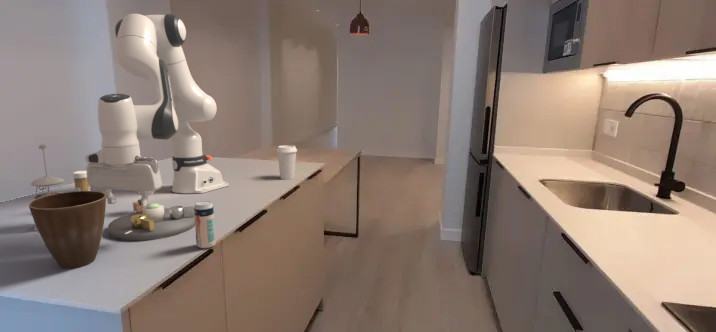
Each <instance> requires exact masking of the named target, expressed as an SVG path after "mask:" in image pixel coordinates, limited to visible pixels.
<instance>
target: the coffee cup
mask: <svg viewBox="0 0 716 332" xmlns="http://www.w3.org/2000/svg"><path fill="white" fill-rule="evenodd" d="M297 152H298V149H297V148H296V145H291V144H290V145H289V144H288V145H285V144H284V145H278V146H277V148H276V153H277V159H278V168H279V178H280V180H283V181H289V180H293V179H295V177H296V176H295V174H296V161H297Z"/></svg>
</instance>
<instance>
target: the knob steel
mask: <svg viewBox="0 0 716 332" xmlns="http://www.w3.org/2000/svg"><path fill="white" fill-rule="evenodd" d="M194 207H195V205H194V206H193V205H192V206H183V205H174V206H171V207H168V208H169V211H170V218H171V219H180V218H183V217H184V216H193V215H194Z"/></svg>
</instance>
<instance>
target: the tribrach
mask: <svg viewBox="0 0 716 332" xmlns="http://www.w3.org/2000/svg"><path fill="white" fill-rule="evenodd" d="M169 208H170V207H167V208H165V205H163V204H159V203H156V202H155V203H148V205H147V206H145V207H143V208H142V214H145V215H146V217H147V219H150V220H153V222H154V230H147V229H144V228H137V229H135V228H132V226H131V216H133V215H137V212H136V211H134V212H132V213H128V214H125V215H122V216H119V217H117V218H115V219H114V220H112V221H110V222H109V224H108V225H107V229H108V234H109V237H111V238H113V239H115V240H121V241H128V242H140V241H141V242H142V241H151V240H152V241H153V240H160V239H164V238H165V239H166V238H170V237H174V236H177V235H180V234H183V233H186V232H187V231H189V230H191V229H193V228H194V227H195V215H193V216H184V217H183V218H180V219H171V218H170V211H169Z"/></svg>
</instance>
